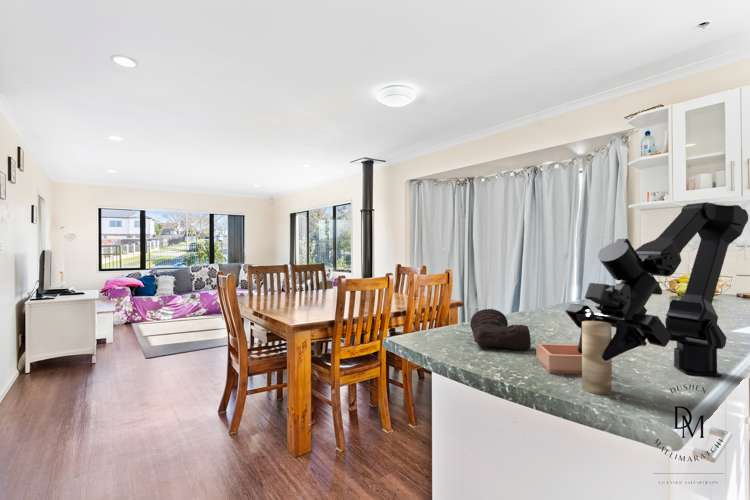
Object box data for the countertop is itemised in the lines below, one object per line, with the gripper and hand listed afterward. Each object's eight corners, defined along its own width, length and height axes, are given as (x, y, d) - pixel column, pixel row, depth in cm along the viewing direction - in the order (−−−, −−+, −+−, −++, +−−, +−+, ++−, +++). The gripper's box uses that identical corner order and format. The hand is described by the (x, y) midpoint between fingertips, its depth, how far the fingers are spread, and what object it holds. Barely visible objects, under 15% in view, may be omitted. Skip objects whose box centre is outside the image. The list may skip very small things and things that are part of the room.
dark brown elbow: (531, 325, 102) (520, 307, 116) (472, 327, 104) (469, 309, 119) (532, 359, 103) (521, 337, 118) (475, 360, 106) (471, 339, 121)
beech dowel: (607, 386, 77) (607, 321, 77) (615, 395, 72) (614, 326, 72) (579, 384, 78) (579, 320, 78) (585, 393, 73) (585, 324, 73)
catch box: (581, 361, 94) (581, 344, 94) (600, 375, 84) (600, 356, 84) (536, 359, 96) (536, 343, 96) (549, 373, 85) (549, 355, 85)
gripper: (571, 267, 85) (532, 320, 81) (659, 270, 68) (615, 339, 64) (597, 300, 88) (561, 353, 84) (688, 312, 71) (648, 380, 67)
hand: (591, 355), depth 75 cm, fingers closed on beech dowel, 5 cm apart
